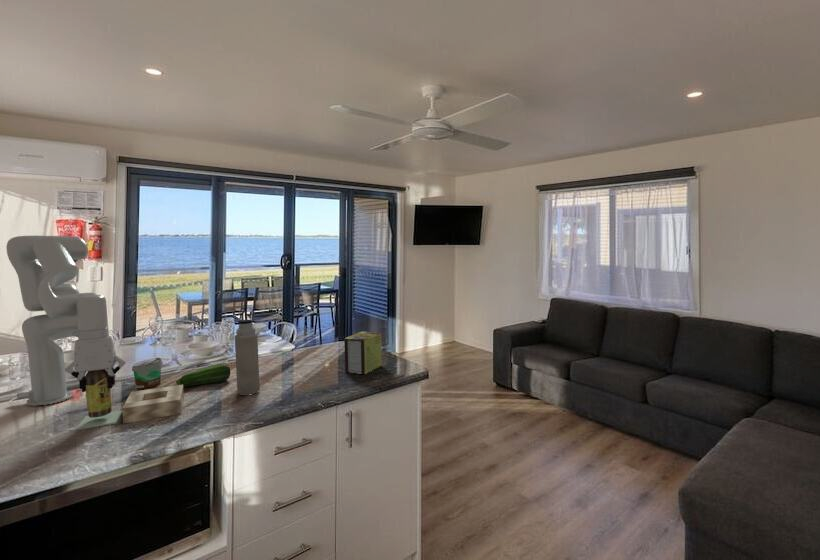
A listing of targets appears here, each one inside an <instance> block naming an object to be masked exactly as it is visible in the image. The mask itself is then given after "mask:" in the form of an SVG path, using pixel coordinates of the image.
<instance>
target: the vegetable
mask: <svg viewBox="0 0 820 560" xmlns="http://www.w3.org/2000/svg"><path fill="white" fill-rule="evenodd" d="M230 376H231V367H230V366H229V365H227V364H224V363H223V364H215V365H212V366H209V367H203V368H200V369H198V370H195V371H194V370H193V371H191V372H188V373H185V374H182V376H181V377H180V378H178V379H177V380H176V381H175V383H176V384H177V385H183V388H190V386H191V387H193V386H194V387H195V386H199V385H207V384H208V385H210V384H218V383H222V382H226V381H227V380H228V379H229V378H230Z"/></svg>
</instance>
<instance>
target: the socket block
mask: <svg viewBox="0 0 820 560" xmlns="http://www.w3.org/2000/svg"><path fill="white" fill-rule="evenodd" d="M184 393H185V392H184V387H183V385H178V384H177V385H170V386H165V387H164V386H163V387H157V388H156V387H154V388H150V389H144V390H134V391H131V392H130V393H129V395H128V397H127V399H126V401H125V403H124V404H123V406H122V408H121V411H122V424H128V423H129V424H130V423H134V422H140V421H141V422H142V421H146V420H152V419H159V418H163V417H164V416H165V417H171V416H177V415H181V414H182V411H183V405H184V401H185V400H184V399H185V395H184ZM181 410H182V411H181ZM176 414H177V415H176ZM170 415H171V416H170ZM165 417H164V418H165Z"/></svg>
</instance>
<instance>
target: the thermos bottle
mask: <svg viewBox="0 0 820 560" xmlns="http://www.w3.org/2000/svg"><path fill="white" fill-rule="evenodd" d="M237 323H238V328H237V329H236V332H235V335H234V349H235V350H234V352H235V373H236V375H235V376H236V390H237V391H236V392H237V393H238V394H240V395H249V394H254V393H257V392H258V391H259V390H260V391H261V389H260V388H261V387H260V369H259V368H260V367H259V343H258V341H259V340H258V338H259V337H258V333H256V328H255V327H254V325H253V320H252V319H240V320H238V322H237ZM260 391H259V392H260ZM259 392H258V393H259ZM258 393H257V394H258ZM238 394H237V395H238ZM240 395H239V396H240ZM254 395H255V394H254Z"/></svg>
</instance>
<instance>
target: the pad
mask: <svg viewBox="0 0 820 560" xmlns="http://www.w3.org/2000/svg"><path fill="white" fill-rule="evenodd" d="M121 415H123V413H122V410H118V411H117V410H115V411H111V413H109V414H107V415H105V416H101V417H95V418H90V417H89V415H85V417H84V418H83V419H82V421H81V422H80V423H79V424H78V426H77V427H76V431H79V430H85V429H91V428H99V427H104V426H109V425H115V424H118V421H119V419H120V418H121Z"/></svg>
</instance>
